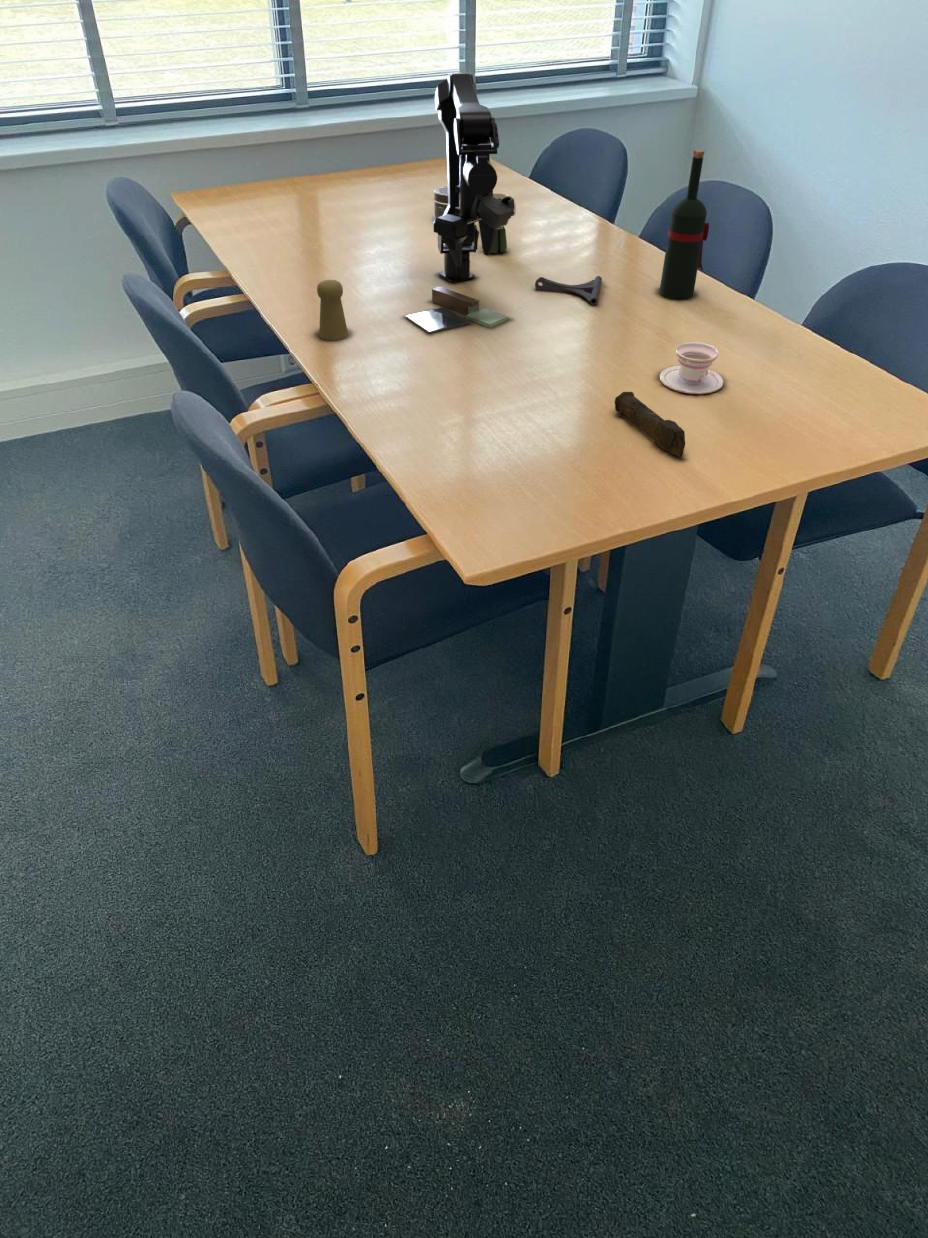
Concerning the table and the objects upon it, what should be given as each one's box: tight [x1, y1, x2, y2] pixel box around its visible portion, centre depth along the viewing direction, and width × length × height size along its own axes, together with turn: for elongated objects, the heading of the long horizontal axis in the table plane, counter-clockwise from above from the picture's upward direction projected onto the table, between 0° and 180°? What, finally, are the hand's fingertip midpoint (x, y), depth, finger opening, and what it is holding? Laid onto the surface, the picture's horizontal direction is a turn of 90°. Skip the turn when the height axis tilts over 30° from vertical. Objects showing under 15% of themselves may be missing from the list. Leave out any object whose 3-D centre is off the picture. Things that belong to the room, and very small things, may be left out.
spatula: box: [431, 285, 509, 329], centre depth 200 cm, size 19×6×3 cm, turn 47°
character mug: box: [490, 192, 517, 254], centre depth 228 cm, size 11×7×13 cm, turn 111°
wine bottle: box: [658, 149, 710, 301], centre depth 202 cm, size 8×10×30 cm
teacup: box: [659, 341, 724, 395], centre depth 173 cm, size 12×12×6 cm
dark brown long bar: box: [614, 391, 686, 458], centre depth 158 cm, size 19×4×5 cm, turn 21°
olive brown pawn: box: [316, 279, 349, 341], centre depth 187 cm, size 6×6×11 cm
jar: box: [433, 185, 448, 219], centre depth 249 cm, size 10×10×8 cm
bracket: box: [534, 275, 603, 306], centre depth 210 cm, size 14×15×3 cm
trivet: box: [405, 306, 470, 334], centre depth 197 cm, size 10×10×1 cm
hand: (472, 260), depth 194 cm, fingers open, 9 cm apart
